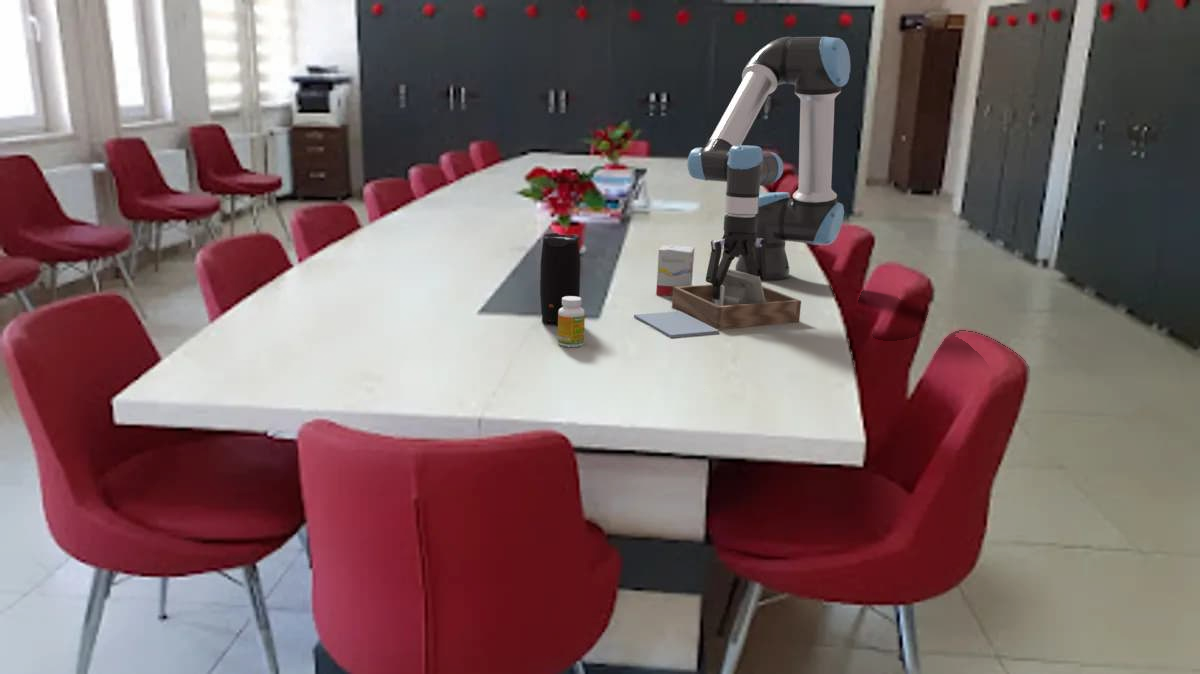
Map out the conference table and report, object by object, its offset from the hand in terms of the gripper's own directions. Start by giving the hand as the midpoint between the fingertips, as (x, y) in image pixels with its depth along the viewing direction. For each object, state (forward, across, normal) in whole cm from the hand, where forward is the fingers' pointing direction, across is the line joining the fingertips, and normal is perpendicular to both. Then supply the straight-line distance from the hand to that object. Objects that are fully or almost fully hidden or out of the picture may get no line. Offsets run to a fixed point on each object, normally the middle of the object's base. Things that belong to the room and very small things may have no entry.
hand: (733, 311), depth 219 cm
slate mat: (+1, +18, +4) cm, 18 cm away
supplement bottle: (+1, +46, +12) cm, 47 cm away
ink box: (+1, +3, -24) cm, 25 cm away
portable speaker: (+1, +42, -6) cm, 42 cm away
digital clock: (+1, -1, 0) cm, 1 cm away
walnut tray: (+1, 0, 0) cm, 1 cm away
